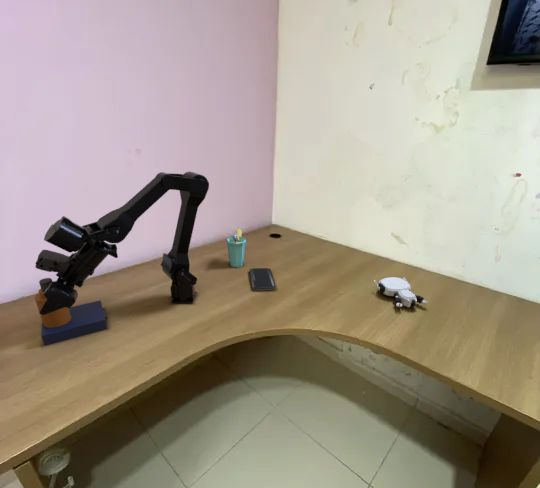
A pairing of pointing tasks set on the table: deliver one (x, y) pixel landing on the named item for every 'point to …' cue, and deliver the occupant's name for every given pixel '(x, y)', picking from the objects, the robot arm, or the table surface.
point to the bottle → (54, 317)
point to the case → (77, 323)
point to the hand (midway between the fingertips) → (46, 303)
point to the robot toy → (399, 291)
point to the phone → (262, 279)
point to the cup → (236, 249)
